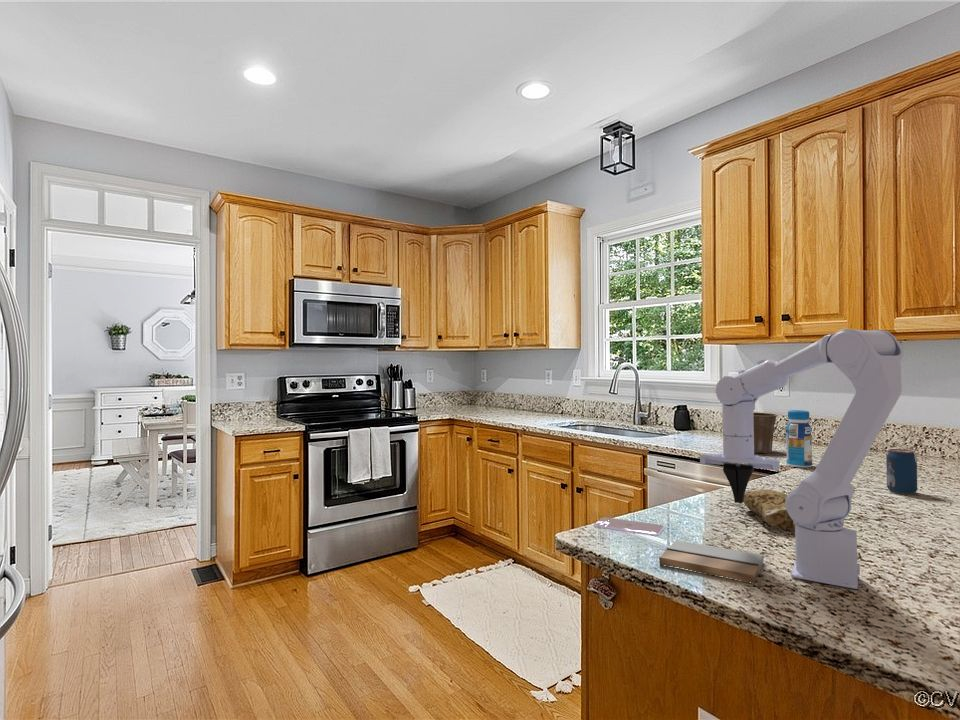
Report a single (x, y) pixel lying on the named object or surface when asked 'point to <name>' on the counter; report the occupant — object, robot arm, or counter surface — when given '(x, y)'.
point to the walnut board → (710, 564)
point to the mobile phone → (630, 526)
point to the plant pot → (763, 431)
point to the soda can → (901, 471)
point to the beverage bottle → (799, 439)
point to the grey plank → (719, 552)
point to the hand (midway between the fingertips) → (739, 501)
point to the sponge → (770, 507)
